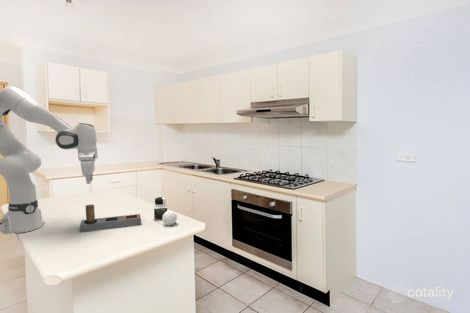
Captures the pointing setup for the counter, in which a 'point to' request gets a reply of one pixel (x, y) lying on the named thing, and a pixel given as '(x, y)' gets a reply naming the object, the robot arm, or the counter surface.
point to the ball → (169, 217)
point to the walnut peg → (90, 214)
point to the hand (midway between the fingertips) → (89, 182)
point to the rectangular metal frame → (111, 222)
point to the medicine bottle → (159, 208)
